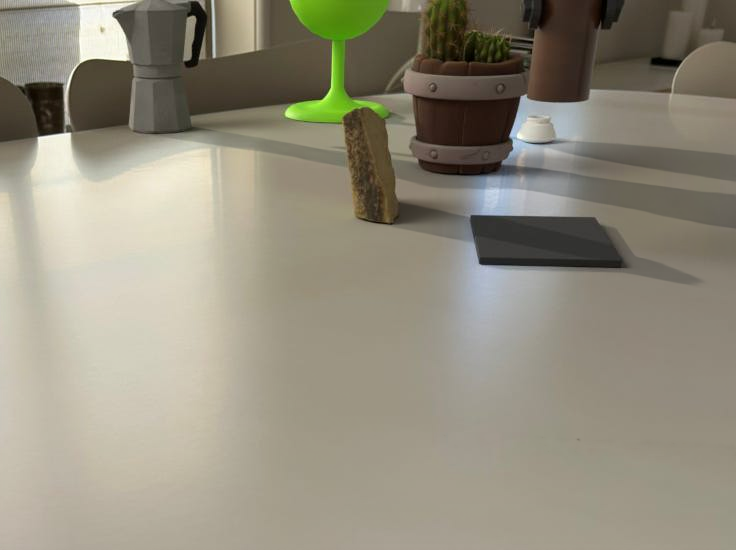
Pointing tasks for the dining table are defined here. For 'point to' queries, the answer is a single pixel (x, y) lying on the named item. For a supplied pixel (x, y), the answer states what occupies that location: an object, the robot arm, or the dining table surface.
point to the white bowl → (537, 130)
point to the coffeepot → (160, 62)
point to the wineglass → (336, 52)
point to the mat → (542, 241)
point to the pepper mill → (564, 51)
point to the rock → (370, 166)
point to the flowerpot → (463, 93)
